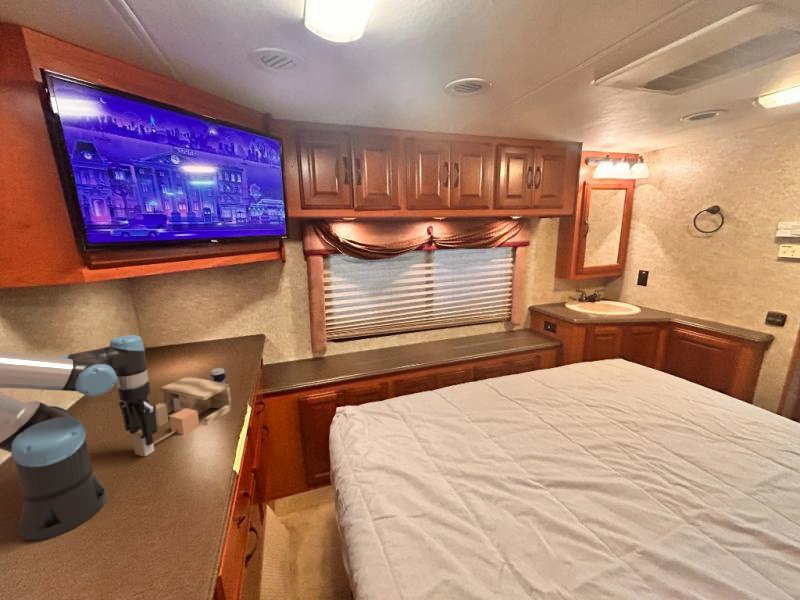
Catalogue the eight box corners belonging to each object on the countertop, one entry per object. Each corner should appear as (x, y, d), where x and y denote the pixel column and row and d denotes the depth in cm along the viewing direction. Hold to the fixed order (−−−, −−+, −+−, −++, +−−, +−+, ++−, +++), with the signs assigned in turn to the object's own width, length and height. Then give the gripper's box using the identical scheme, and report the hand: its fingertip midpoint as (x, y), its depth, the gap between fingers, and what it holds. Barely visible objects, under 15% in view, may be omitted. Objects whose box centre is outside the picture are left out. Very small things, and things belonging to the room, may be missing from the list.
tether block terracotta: (145, 457, 100) (142, 437, 99) (132, 453, 102) (129, 433, 101) (199, 425, 118) (197, 408, 116) (187, 422, 120) (185, 405, 118)
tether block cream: (161, 427, 117) (159, 409, 115) (150, 424, 118) (147, 407, 117) (199, 407, 131) (197, 391, 129) (188, 404, 133) (186, 389, 131)
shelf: (207, 424, 118) (204, 397, 116) (164, 413, 125) (160, 387, 123) (231, 409, 129) (229, 384, 127) (190, 400, 136) (187, 376, 134)
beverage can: (220, 399, 137) (218, 373, 135) (209, 397, 138) (206, 372, 136) (230, 393, 143) (227, 368, 141) (219, 391, 144) (216, 367, 142)
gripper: (165, 383, 99) (174, 450, 104) (129, 376, 105) (139, 439, 109) (139, 394, 92) (150, 465, 97) (102, 385, 98) (114, 453, 102)
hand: (144, 451), depth 103 cm, fingers open, 4 cm apart
